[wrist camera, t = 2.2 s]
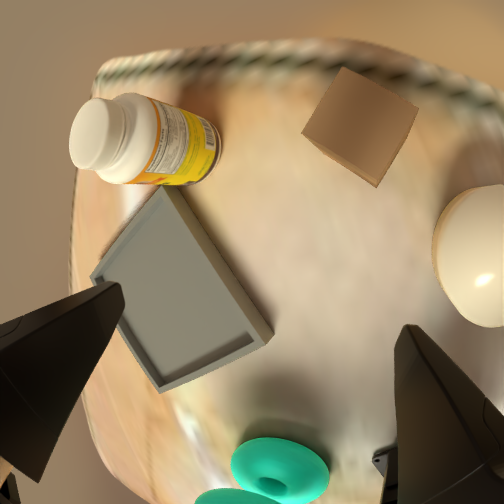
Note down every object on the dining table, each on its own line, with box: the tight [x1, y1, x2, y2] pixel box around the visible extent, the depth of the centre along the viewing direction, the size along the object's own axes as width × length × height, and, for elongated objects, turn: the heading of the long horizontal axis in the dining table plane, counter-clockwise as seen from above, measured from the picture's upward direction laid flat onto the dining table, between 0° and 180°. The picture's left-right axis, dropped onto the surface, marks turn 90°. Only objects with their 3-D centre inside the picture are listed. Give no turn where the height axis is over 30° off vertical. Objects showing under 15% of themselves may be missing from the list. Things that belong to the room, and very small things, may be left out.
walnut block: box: [301, 66, 419, 188], centre depth 14 cm, size 4×4×6 cm
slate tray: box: [90, 185, 274, 394], centre depth 24 cm, size 14×14×2 cm
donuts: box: [194, 437, 329, 504], centre depth 19 cm, size 10×10×10 cm
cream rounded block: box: [432, 184, 504, 328], centre depth 13 cm, size 8×8×4 cm
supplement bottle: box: [69, 93, 221, 185], centre depth 17 cm, size 6×6×10 cm
